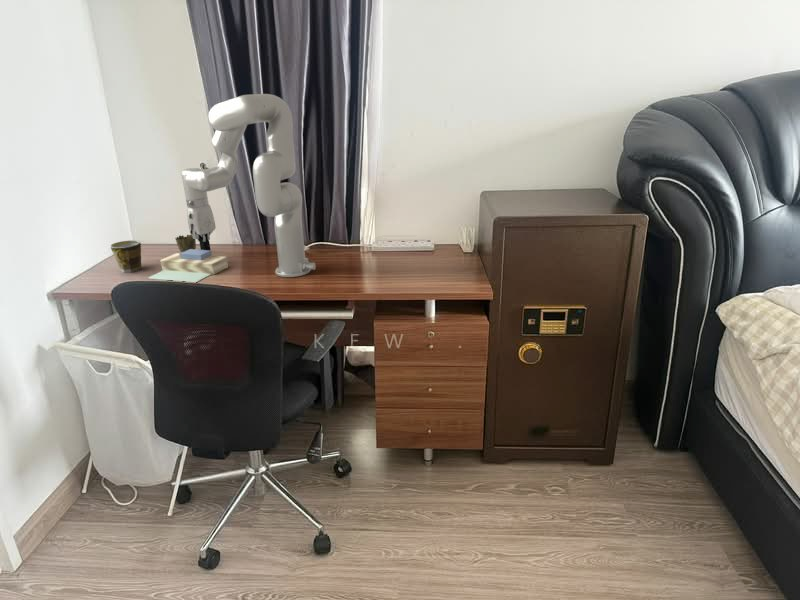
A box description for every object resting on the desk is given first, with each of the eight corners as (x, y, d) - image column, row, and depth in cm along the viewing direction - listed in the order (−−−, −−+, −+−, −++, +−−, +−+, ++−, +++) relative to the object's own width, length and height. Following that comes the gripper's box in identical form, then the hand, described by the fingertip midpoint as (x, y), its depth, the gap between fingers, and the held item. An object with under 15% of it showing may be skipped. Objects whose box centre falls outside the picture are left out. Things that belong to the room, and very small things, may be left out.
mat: (211, 274, 187) (211, 273, 187) (195, 283, 179) (195, 282, 179) (164, 270, 192) (164, 269, 192) (147, 278, 184) (147, 278, 184)
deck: (228, 266, 194) (226, 256, 193) (213, 274, 186) (211, 264, 185) (178, 263, 200) (176, 253, 199) (162, 270, 192) (160, 260, 191)
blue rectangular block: (211, 255, 195) (210, 250, 194) (201, 260, 189) (200, 255, 189) (190, 254, 197) (189, 249, 196) (180, 258, 192) (179, 253, 191)
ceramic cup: (123, 266, 199) (116, 240, 195) (149, 264, 199) (144, 239, 196) (108, 277, 187) (101, 250, 183) (137, 276, 187) (131, 249, 184)
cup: (198, 252, 213) (195, 233, 210) (198, 257, 207) (194, 237, 204) (179, 254, 211) (175, 235, 208) (178, 259, 205) (174, 239, 202)
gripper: (193, 207, 184) (202, 257, 191) (218, 199, 197) (225, 246, 204) (175, 206, 186) (184, 256, 193) (201, 198, 199) (209, 244, 206)
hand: (205, 250), depth 198 cm, fingers closed
